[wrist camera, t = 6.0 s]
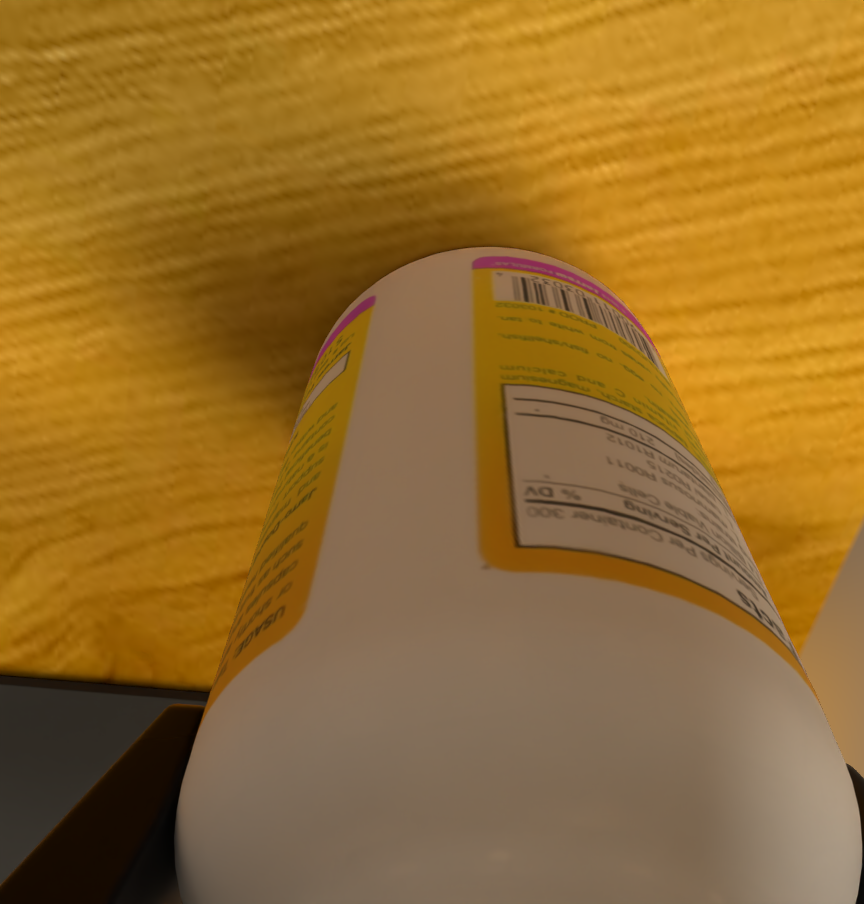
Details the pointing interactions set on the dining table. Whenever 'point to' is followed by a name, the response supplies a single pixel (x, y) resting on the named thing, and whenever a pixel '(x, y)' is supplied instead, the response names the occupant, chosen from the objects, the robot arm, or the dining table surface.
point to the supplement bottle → (507, 632)
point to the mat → (63, 749)
